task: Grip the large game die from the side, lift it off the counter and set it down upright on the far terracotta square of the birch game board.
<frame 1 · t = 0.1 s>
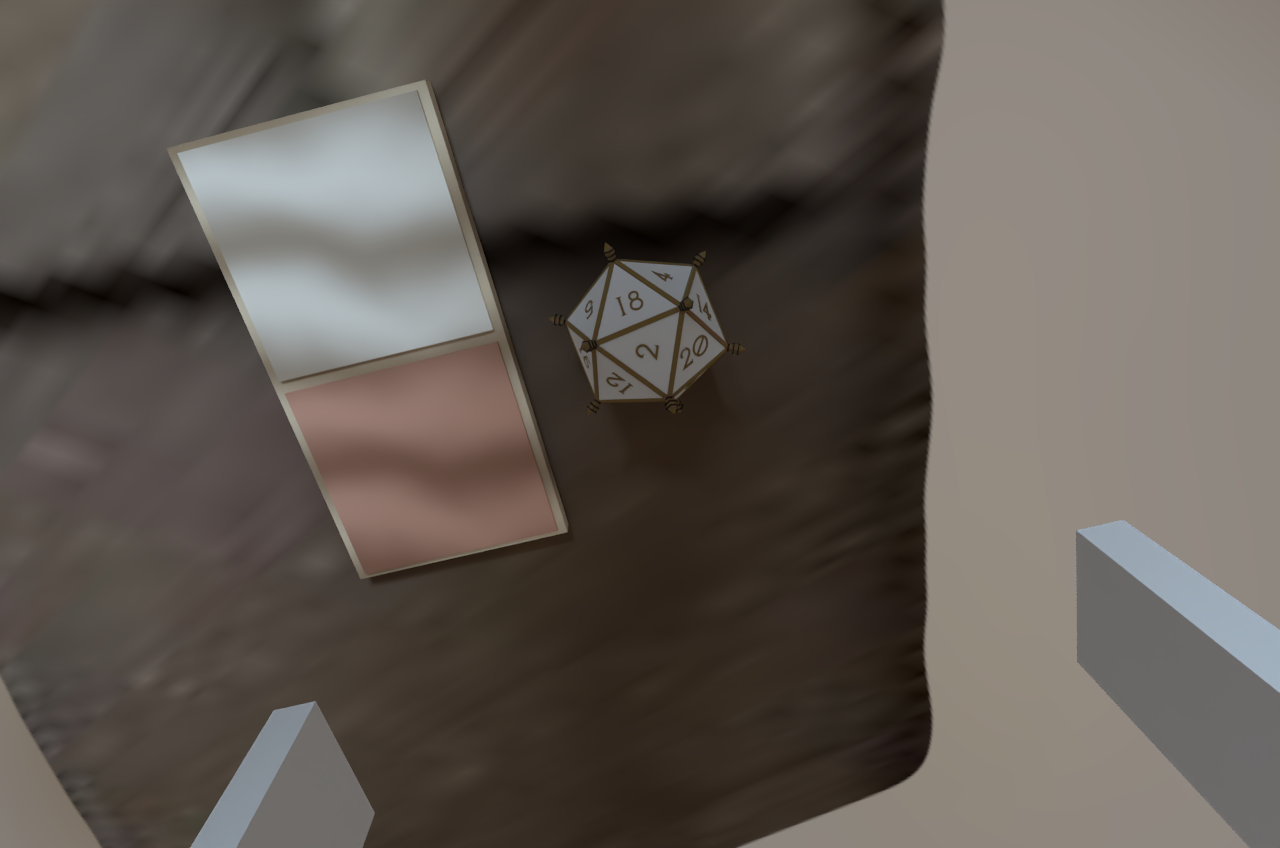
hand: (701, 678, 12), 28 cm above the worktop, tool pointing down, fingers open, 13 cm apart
game board: (394, 356, 38), on the worktop
game die: (642, 316, 38), on the worktop
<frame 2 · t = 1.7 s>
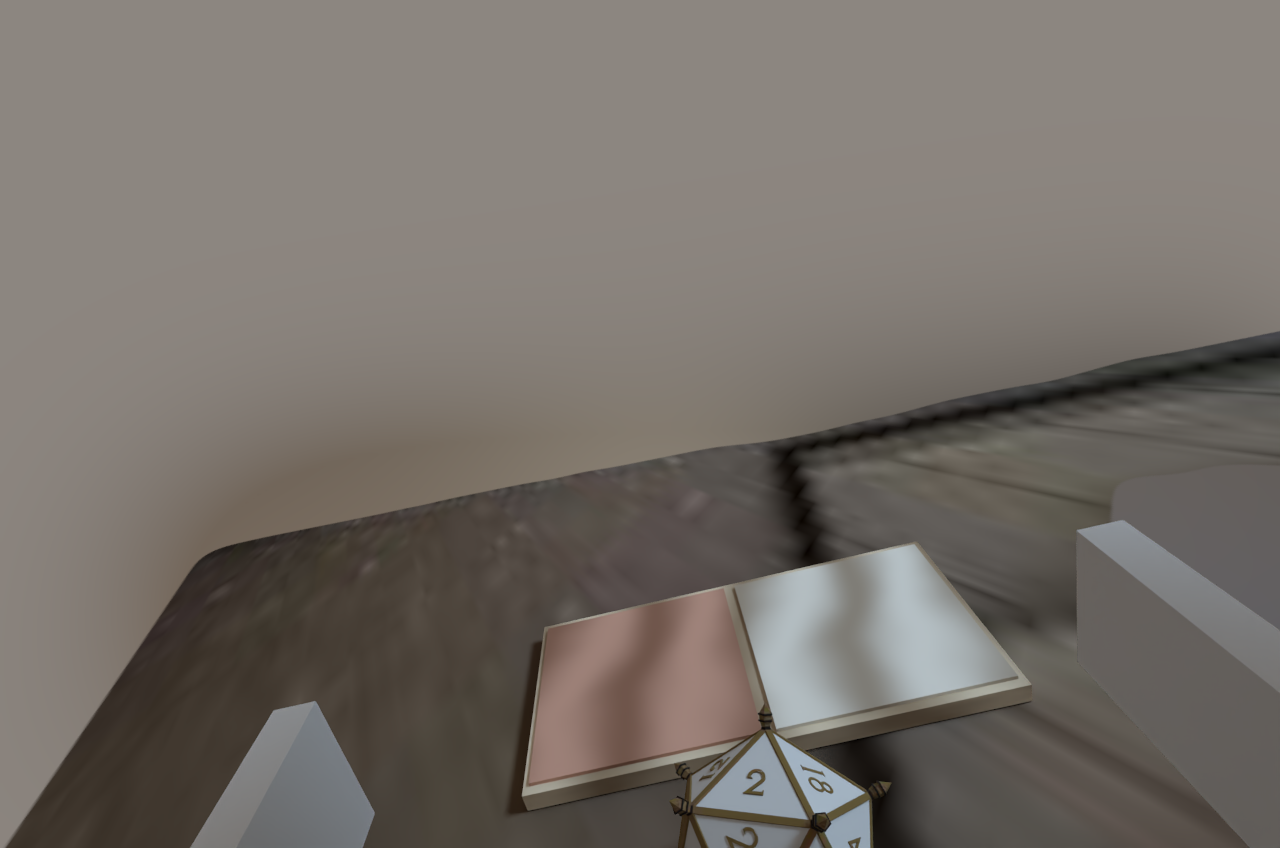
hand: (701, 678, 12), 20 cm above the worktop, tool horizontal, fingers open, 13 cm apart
game board: (750, 664, 40), on the worktop
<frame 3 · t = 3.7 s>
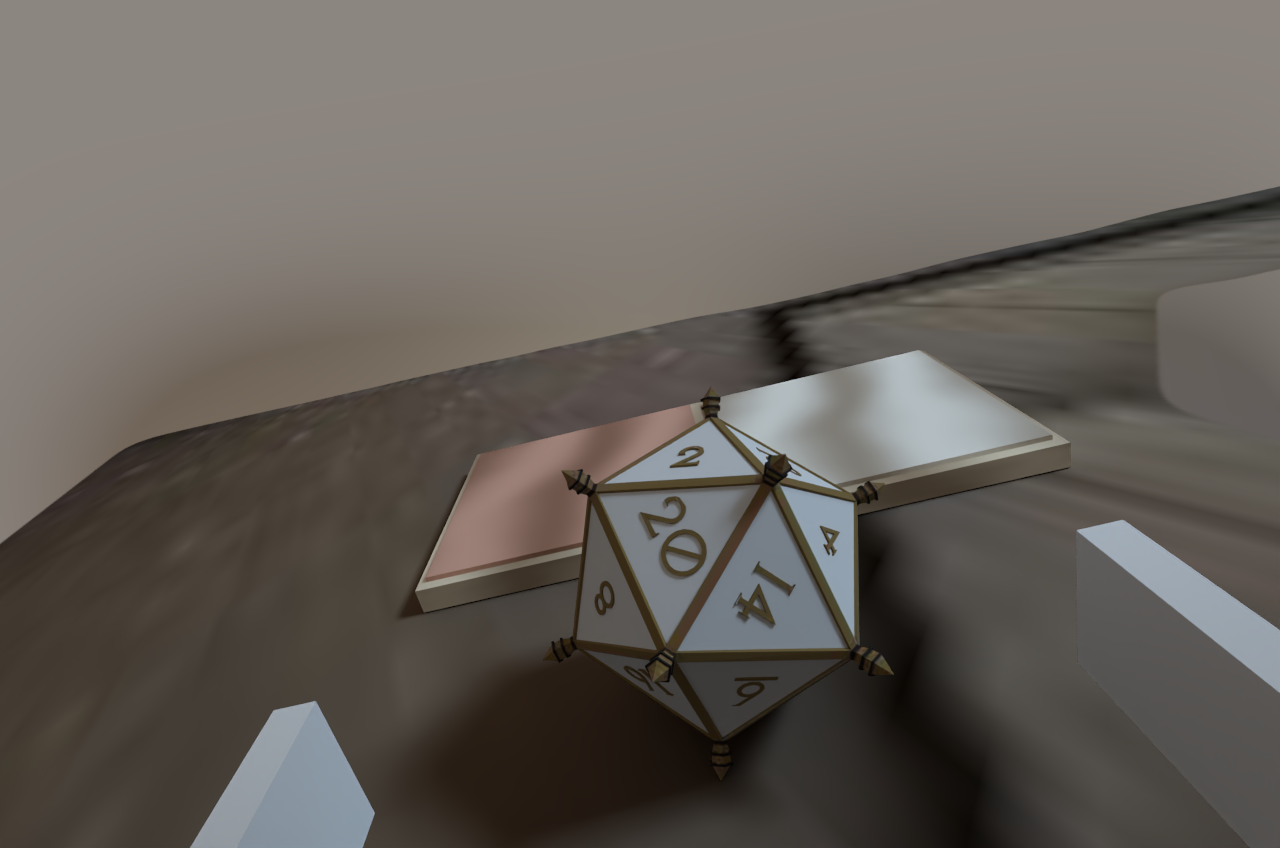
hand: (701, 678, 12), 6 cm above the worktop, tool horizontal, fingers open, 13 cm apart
game board: (715, 469, 32), on the worktop
game die: (744, 693, 19), on the worktop
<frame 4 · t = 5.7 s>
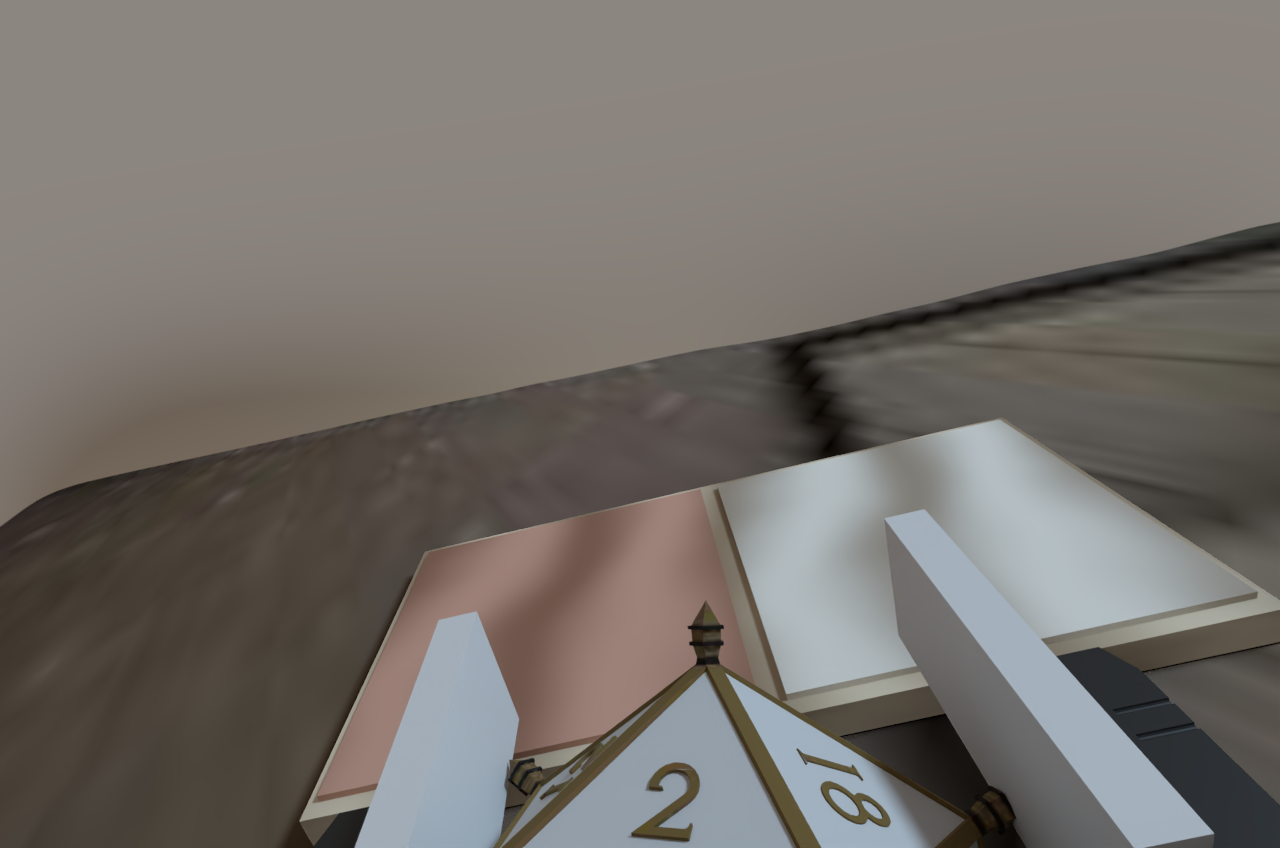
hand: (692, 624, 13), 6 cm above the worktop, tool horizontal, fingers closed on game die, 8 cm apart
game board: (739, 595, 24), on the worktop
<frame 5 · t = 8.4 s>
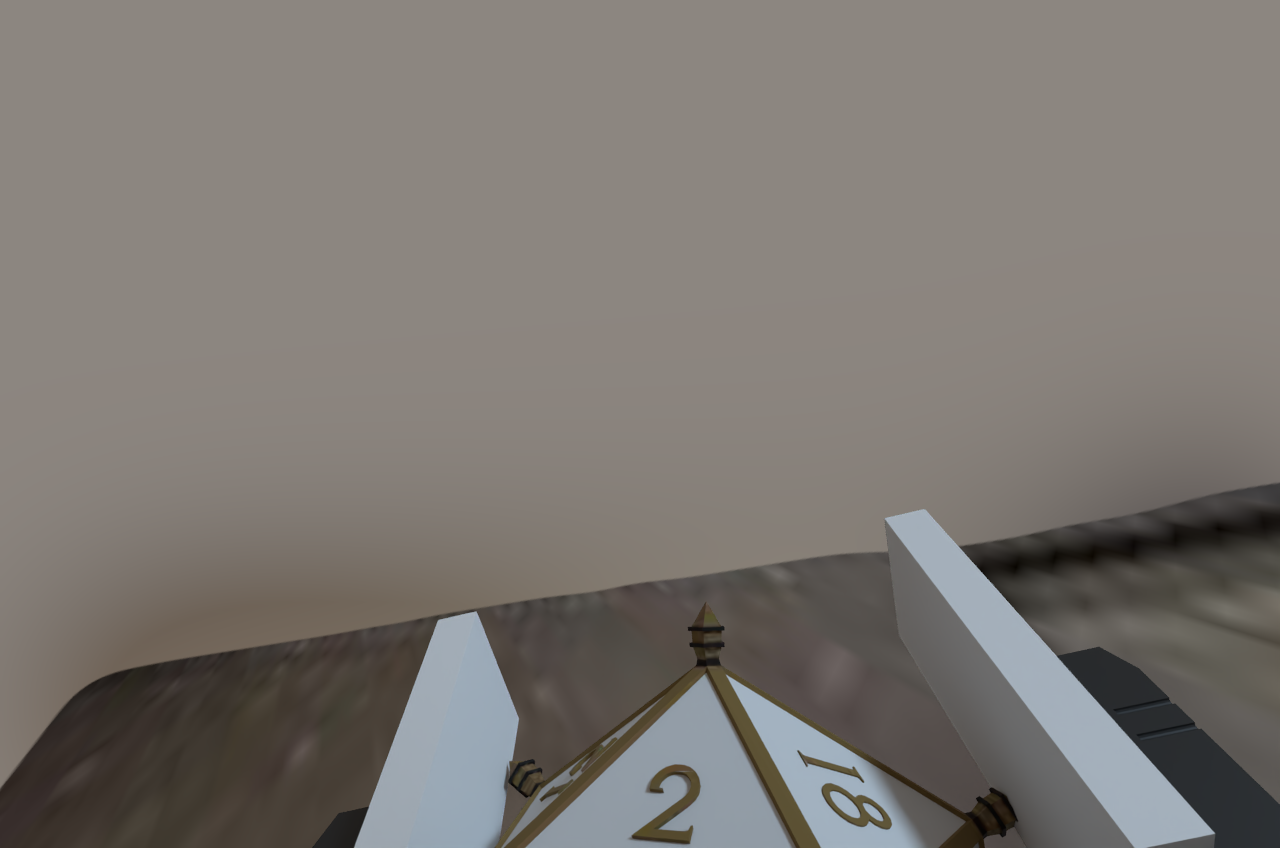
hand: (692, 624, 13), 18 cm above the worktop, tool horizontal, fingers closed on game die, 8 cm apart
when the fingers open (8 cm above the worktop, at t = 10.8 s): game die stays where it is, resting on game board.
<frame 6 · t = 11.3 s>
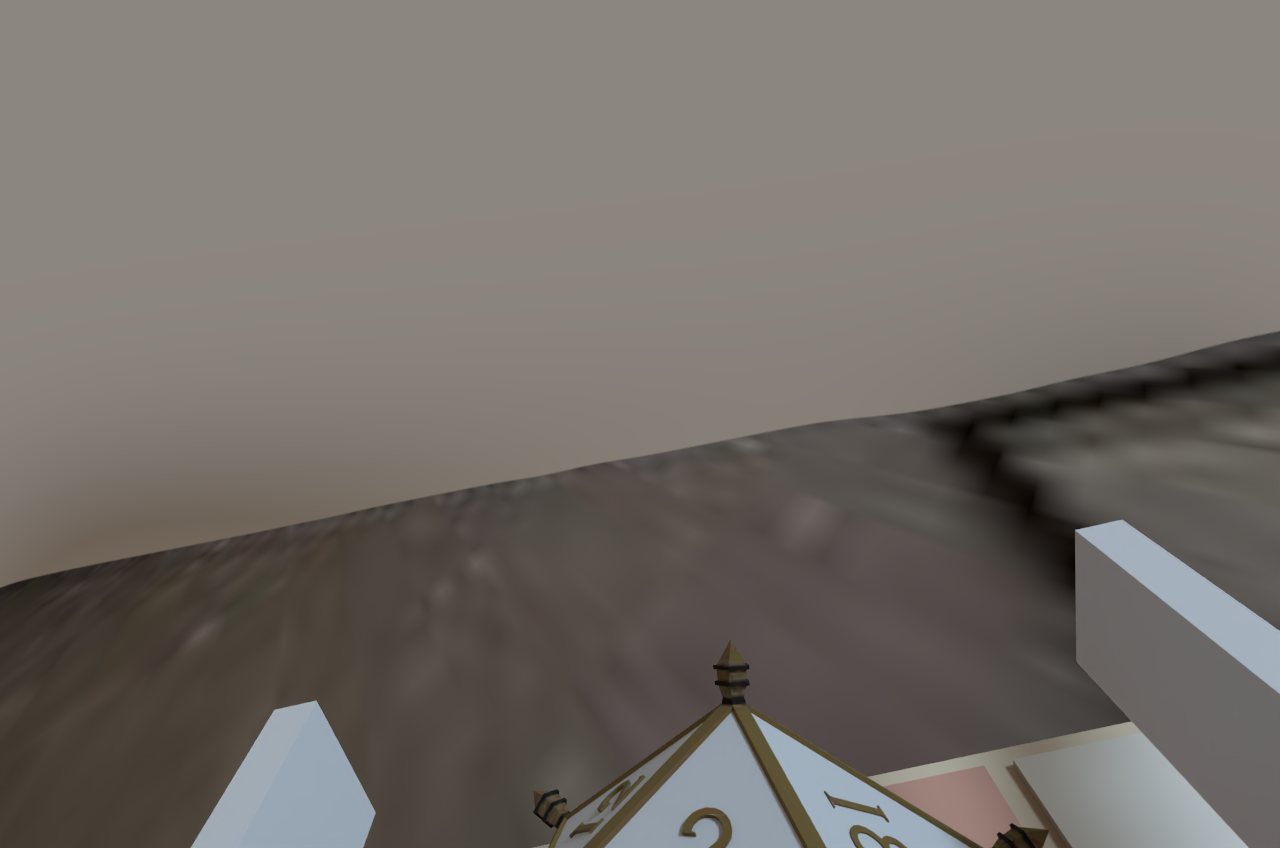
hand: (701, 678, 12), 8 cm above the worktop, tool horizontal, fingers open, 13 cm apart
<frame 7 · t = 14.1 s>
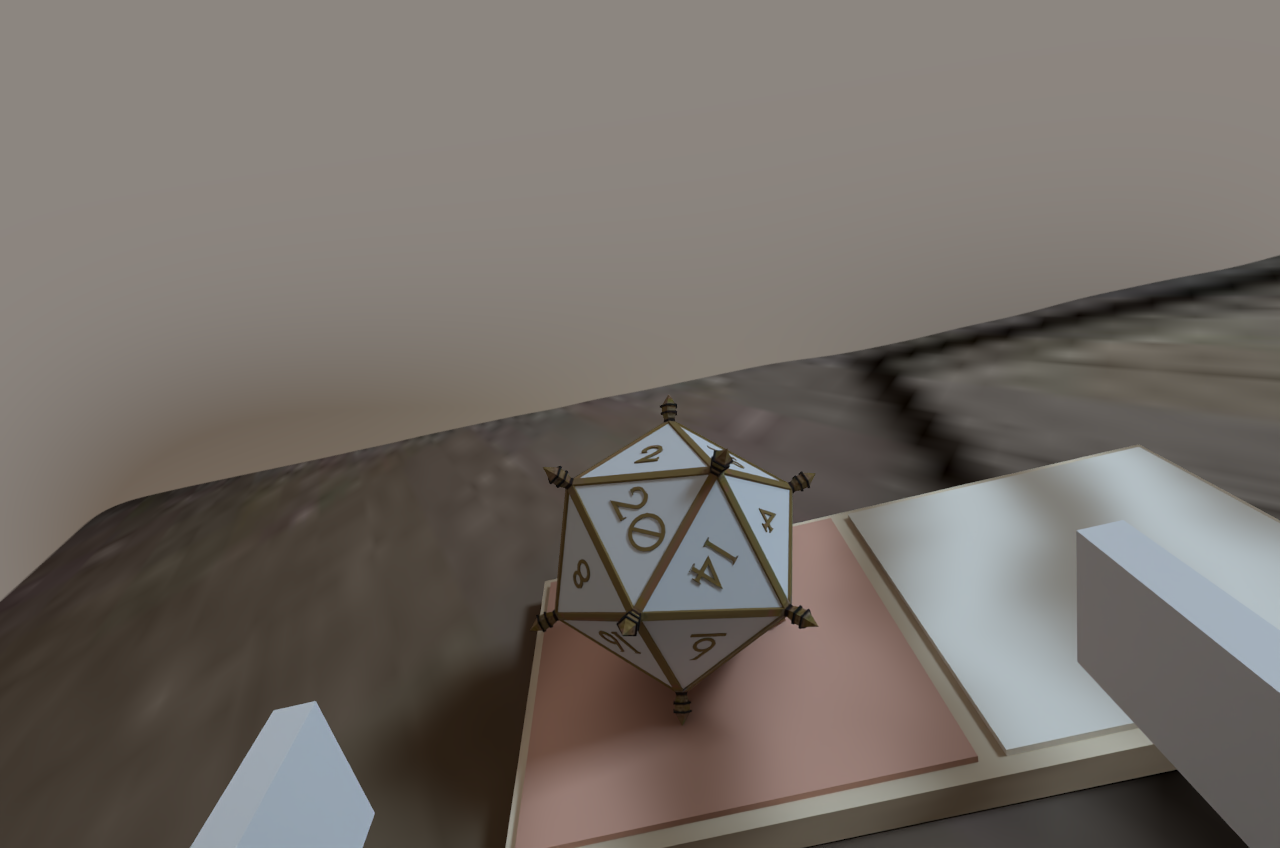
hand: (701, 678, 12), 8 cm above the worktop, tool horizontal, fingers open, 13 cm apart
game board: (900, 634, 23), on the worktop
game die: (702, 657, 23), point 1 cm above the worktop, touching game board
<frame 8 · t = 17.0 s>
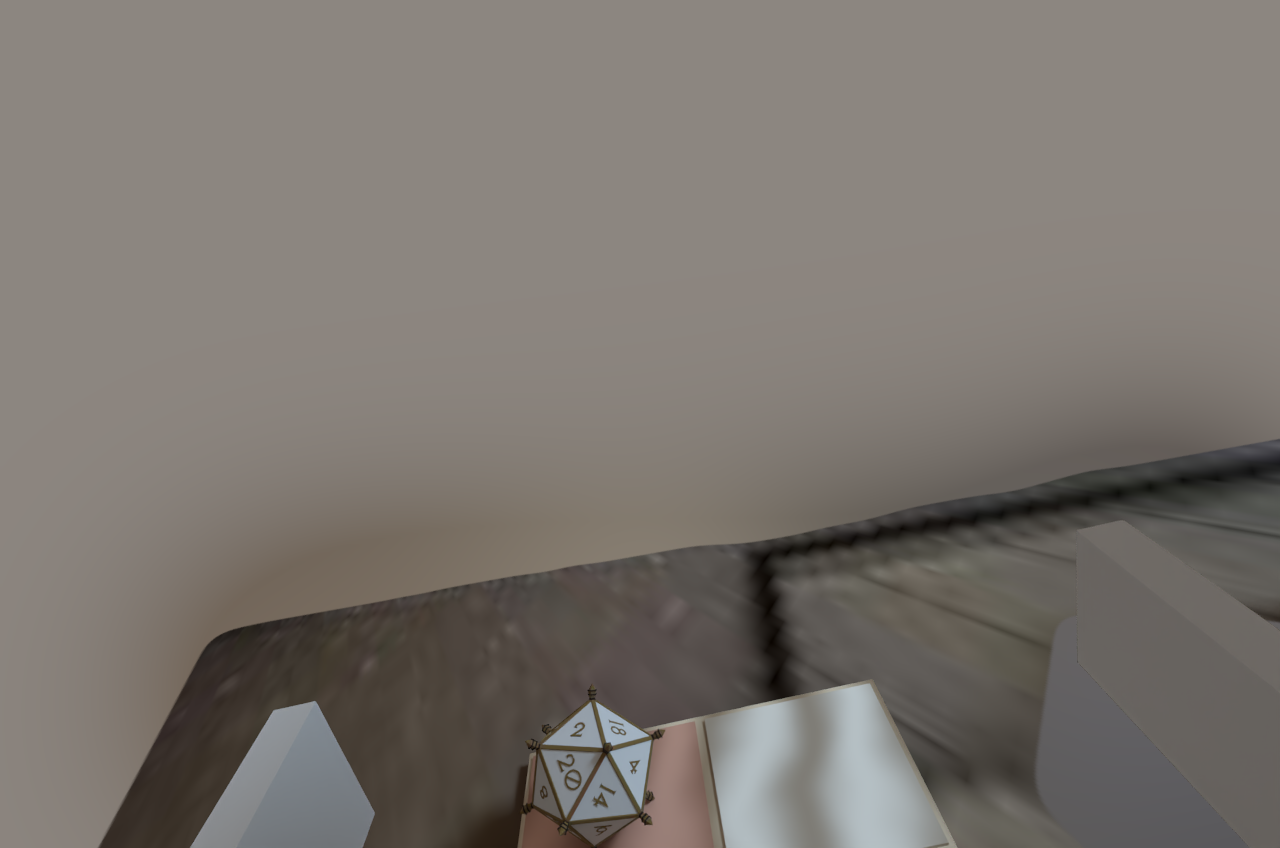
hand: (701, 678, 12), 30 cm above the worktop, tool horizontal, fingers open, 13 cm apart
game board: (714, 806, 43), on the worktop
game die: (610, 819, 43), point 1 cm above the worktop, touching game board
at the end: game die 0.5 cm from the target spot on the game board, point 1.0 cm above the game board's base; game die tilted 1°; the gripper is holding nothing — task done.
